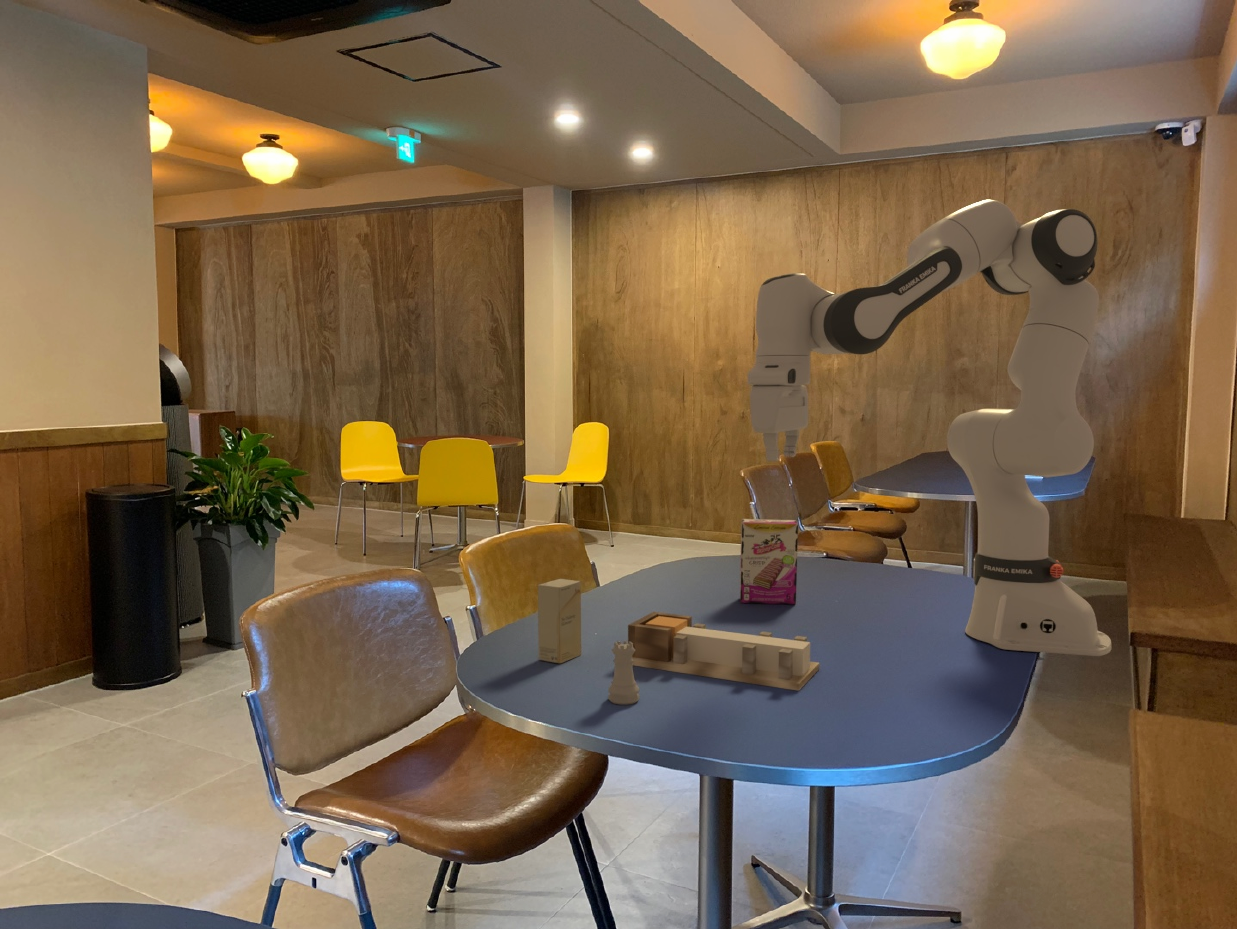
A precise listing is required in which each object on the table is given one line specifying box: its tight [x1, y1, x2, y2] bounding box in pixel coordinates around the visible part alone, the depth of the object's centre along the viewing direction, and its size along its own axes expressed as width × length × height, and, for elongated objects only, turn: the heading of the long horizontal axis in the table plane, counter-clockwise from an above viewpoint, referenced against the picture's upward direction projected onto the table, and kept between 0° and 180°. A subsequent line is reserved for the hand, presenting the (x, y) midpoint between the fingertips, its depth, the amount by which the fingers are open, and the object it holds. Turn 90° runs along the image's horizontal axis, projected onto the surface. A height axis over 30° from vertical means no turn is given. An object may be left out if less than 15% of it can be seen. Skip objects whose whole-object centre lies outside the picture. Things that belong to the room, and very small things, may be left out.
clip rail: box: [627, 611, 820, 692], centre depth 139 cm, size 28×11×6 cm, turn 63°
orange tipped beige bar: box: [646, 616, 811, 676], centre depth 139 cm, size 25×5×5 cm, turn 63°
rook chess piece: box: [607, 640, 641, 706], centre depth 124 cm, size 4×4×8 cm
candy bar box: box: [739, 518, 799, 605], centre depth 181 cm, size 11×5×16 cm, turn 84°
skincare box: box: [537, 578, 582, 664], centre depth 144 cm, size 6×4×12 cm
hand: (781, 458), depth 149 cm, fingers open, 8 cm apart
